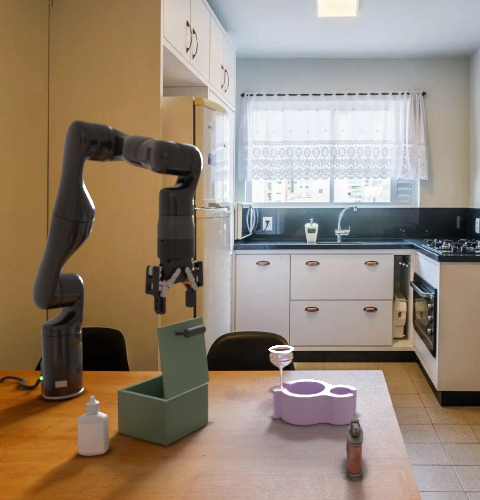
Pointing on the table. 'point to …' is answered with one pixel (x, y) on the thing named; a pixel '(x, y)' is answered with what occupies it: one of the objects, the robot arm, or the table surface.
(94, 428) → the eye dropper bottle
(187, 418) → the chest
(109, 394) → the table surface
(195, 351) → the lid
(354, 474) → the lighter
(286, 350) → the wineglass
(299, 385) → the clip
